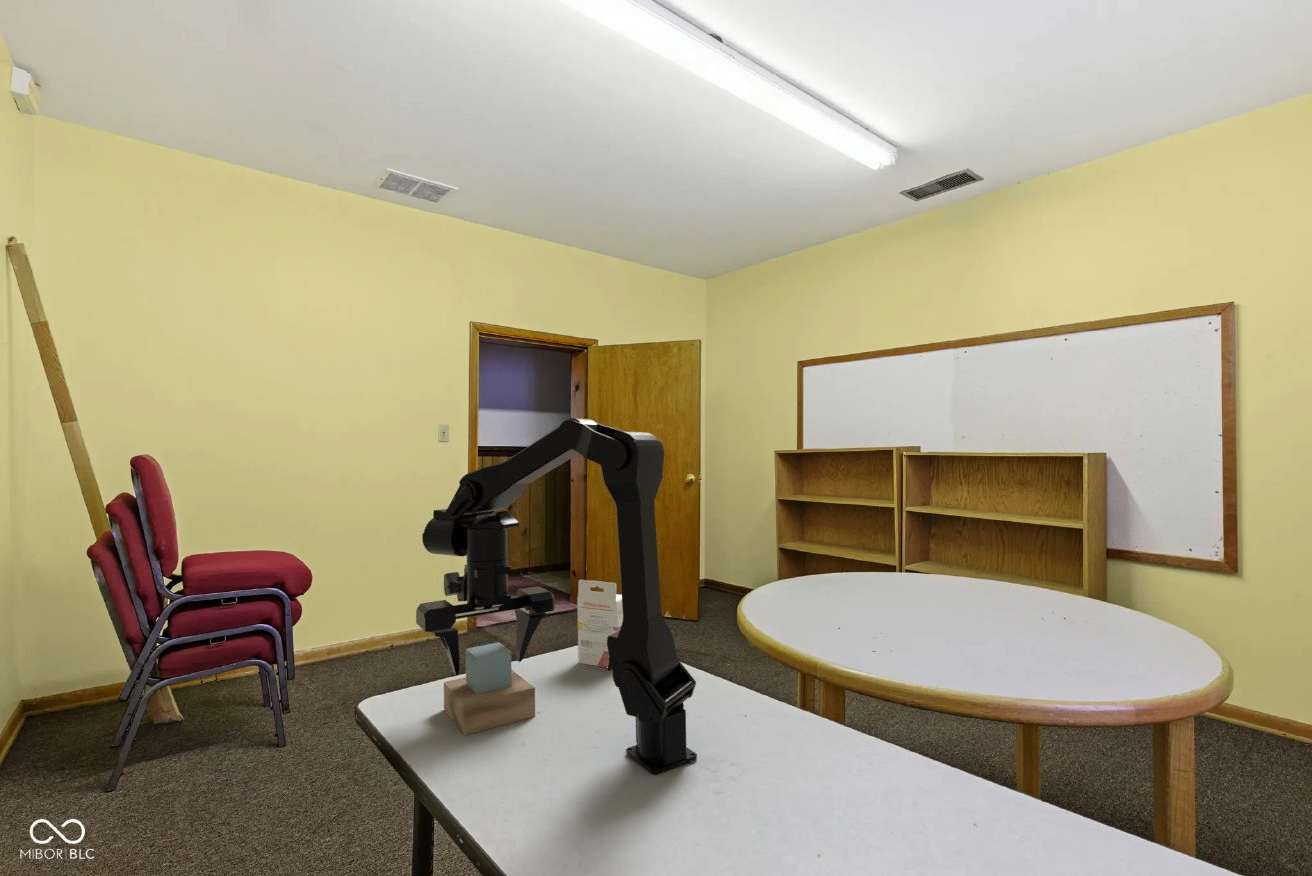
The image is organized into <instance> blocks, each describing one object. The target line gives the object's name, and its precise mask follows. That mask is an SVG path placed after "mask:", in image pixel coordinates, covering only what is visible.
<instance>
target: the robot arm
mask: <svg viewBox="0 0 1312 876" xmlns="http://www.w3.org/2000/svg"><path fill="white" fill-rule="evenodd" d="M577 455H581V456H582V457H583V458H584V459H587V460H589V461H591V462H593V463H595V464H597V465H599V466H600V469H601V475H602V481H603V483H604V485H605V487H606V489H607V491H608V493H609V495H610V496H611V498H612V500H613V501H614V503H615V510H616V526H617V541H618V557H619V574H620V589H621V590H620V592H621V593H620V595H622V610H623V621H622V625H621V628H620V631H618V632H616V633H614V634H612V635H609V636H608V637H607V647H608V652H609V665H608V668H607V667H606V669H607V671H608V672H610V671H611V675H612V680H613V682H614V685H615V687H616V688H618V690H619V693H620V696H621V701H622V703H623V707H624V710H625V713H626V715H628V716H630V717H635V742H636V745H631V746H629V747H627V748H626V749H625V753H626V755H628V756H629V757H630V758H631V759H633V760H634V761H635V762H637V763H638V764H639V765H641V766H642V767H643V768H644V769H646V770H647V771H648V772H650V773H651V774H655V775H656V774H659V773H662V772H665V771H668V770H670V769H673V768H676V767H678V766H682V765H683V764H687V763H690V762H693V761H695V760H697V759H698V754H697V753H696V751H693V750H691V749H690V748H689V747H687V710H686V709H685V707H684V702H685V701H687V700H688V699H689V698H692V697H693V694H694V692H695V688H696V686H697V682H696V680H695V678H694V677H693V676H692V675H691V673H690V672H689V671H688V670H687V668H686V667H685V666H684V665H683V664H682V662H681V661H680V660H679V659H678V655H677V654H678V653H677V650H676V645H675V640H674V637H673V633H672V632H671V630H670V627H669V626H668V624H667V623H666V621H665V618H664V617H663V614H662V605H661V603H662V602H661V591H660V590H661V587H660V586H661V585H660V574H659V571H660V570H659V558H658V557H659V555H658V542H657V541H658V540H657V526H656V525H657V524H656V513H655V500H656V497H657V494H658V491H659V489H660V485H661V482H662V480H663V475H664V474H663V472H664V462H665V449H664V445H663V444H662V442H661V440H659V439H658V438H657V437H656V436H655V435H654V434H651V432H641V431H625V430H621V429H619V428H614V427H612V426H611V427H610V426H608V425H604V424H602V423H599V422H596V421H595V420H593V419H591V418H575V417H571V418H568V419H565V420H564V421H563V422H562V423H561V424H560V425H559V426H558V427H556V428H555V429H552V431H550V432H549V433H547V434H545V435H543V436H542V437H540V438H539V439H538V440H536V441H534V442H533V443H531V444H530V445H528V446H527V447H525V448H524V449H522V450H520V451H519V452H517V453H516V454H514V455H512V456H511V457H509V458H508V459H506V460H505V461H503V462H499V463H497V464H494V465H493V464H492V465H488V466H485V467H481V468H479V469H476V470H473V471H471V472H468V473H465V475H463V476H462V477H461V478H460V480H459V482H458V484H459V487H457V490H456V492H455V494H454V496H453V498H452V499H451V501H450V502H449V504H448V506H447V508H440V509H435V510H433V513H432V515H433V517H432V518H431V519H430V520H429V521H428V523H426V525H425V527H424V531H423V533H422V535H421V536H422V537H421V538H422V544H423V548H425V550H426V551H427V552H428V553H429V554H432V555H443V556H454V557H466V564H464V569H463V573H464V574H463V576H460V573H459V572H458V571H455V572H447V573H445V574H444V575H443V592H444V596H446V597H450V596H456V598H457V602H467V603H461V604H456V605H455V604H454V605H453V604H452V603H450V602H449V601H447V600H446V599H442V600H435V601H428V602H422V603H419V605H418V607H417V608H416V611H415V612H416V613H415V623H416V624H417V626H419V628H420V629H422V630H423V632H426V633H427V632H428V633H431V634H432V635H433V636H434V637H437V638H439V639H440V641H441V643H442V645H443V647H444V649H445V653H446V655H447V657H448V660H449V664H450V666H451V669H452V671H453V674H454V675H455V676H458V675H460V666H461V665H460V664H461V663H460V646H459V645H460V643H459V629H458V628H456V627H455V626H454V625H455V624H456V622H457V619H458V620H459V619H465V618H470V617H471V618H472V617H477V616H484V615H488V614H489V615H490V614H496V613H501V612H508V611H514V613H515V617H516V619H515V620H516V637H515V638H516V639H515V643H516V644H515V655H516V656H515V658H516V661H517V662H519V663H520V662H522V661H523V659H524V657H525V654H526V651H527V649H528V647H529V644H530V642H531V640H532V638H533V635H534V634H535V632H536V630H537V628H538V626H539V624H540V623H541V620H542V619H546V618H547V617H548V614H547V613H550V612H554V611H556V599H555V596H554V593H553V592H552V591H551V590H548V589H547V588H544V587H541V586H539V585H538V586H531V587H525V588H519V589H517V591H516V594H515V595H514V596H511V594H509V575H510V574H512V573H511V571H512V570H511V566H510V565H508V563H509V562H508V560H509V559H508V555H509V554H508V529H513V528H517V527H519V526H520V522H519V521H518V520H517V519H516V518H515V517H514V516H512V515H511V513H510V512H509V510H507V509H508V508H509V507H510V506H511V505H512V504H513V503H514V502H516V501H517V500H518V499H519V498H520V497H521V496H522V494H523V492H524V490H525V488H526V487H528V485H530V484H531V483H533V482H534V481H536V480H538V479H539V478H541V477H542V476H544V475H546V474H548V473H549V472H551V471H552V470H555V469H556V468H557V467H559V466H561V465H563V464H565V463H566V462H568V461H569V460H570V459H572V458H574V457H575V456H577ZM502 510H504V511H502ZM494 514H495V515H494ZM477 608H478V609H477Z"/></svg>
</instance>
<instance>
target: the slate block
mask: <svg viewBox="0 0 1312 876" xmlns="http://www.w3.org/2000/svg"><path fill="white" fill-rule="evenodd" d="M511 669H512V650H510V649H509V648H507V647H506V646H505V645H504V644H502V643H501V642H493V643H488V644H483V645H479V646H478V645H477V646H472V647H468V648H465V677H466V684H467V685H468V686H469V687H470V688H471V689H472V690H473V691H474V692H475V693H476V694H481V693H485V692H489V691H494V690H498V689H502V688H507V687H511V686H512V676H511Z"/></svg>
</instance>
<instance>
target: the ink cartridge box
mask: <svg viewBox="0 0 1312 876" xmlns="http://www.w3.org/2000/svg"><path fill="white" fill-rule="evenodd" d="M596 587H598V588H599V589H602V590H603V591H593V590H591V589H592V588H596ZM577 589H578V590H577V591H578V593H577V597H576V599H577V600H576V601H577V603H576V604H577V650H578V651H577V654H578V655H577V656H578V657H577V658H578V663H579V664H584V665H590V666H596V667H603V668H607V667H608V665H609V652H608V647H607V637H608V636H609V635H612V634H614V633H616V632H618V631H620V628H621V625H622V621H623V610H622V594H617V591H618V590H617V583H616V582H606V581H600V580H599V581H598V580H587V579H586V580H585V579H579V580H578V587H577Z"/></svg>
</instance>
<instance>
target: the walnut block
mask: <svg viewBox="0 0 1312 876" xmlns="http://www.w3.org/2000/svg"><path fill="white" fill-rule="evenodd" d="M511 676H512V686H511V687H507V688H502V689H498V690H494V691H489V692H485V693H481V694H476V693H475V692H474V691H473V690H472V689H471V688H470V687H469V686H468V685H467V684H466V676H465V677H461V678H457V679H452V680H448V681H444V682H443V710H444V709H445V710H444V711H446V712H447V713H446V712H445V713H446V714H447V715H448V716H450V717H451V718H450V717H449V718H450V719H451V720H452V722H453V721H454V722H455V723H454V722H453V723H454V724H455V725H456V727H457V728H458V729H459V730H460V732H461V733H462V734H463V735H464V736H467V735H471V734H474V733H478V732H481V731H485V730H489V729H493V728H497V727H500V726H504V725H508V724H512V723H515V722H519V721H523V720H526V719H527V720H528V719H530V718H534V717H536V687H535V686H533V685H532V684H531V683H529V682H528V681H527V680H526V679H524V677H522V676H521V675H520V674H518V673H516V672H515V671H514V670H513V669H512V668H511Z"/></svg>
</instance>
